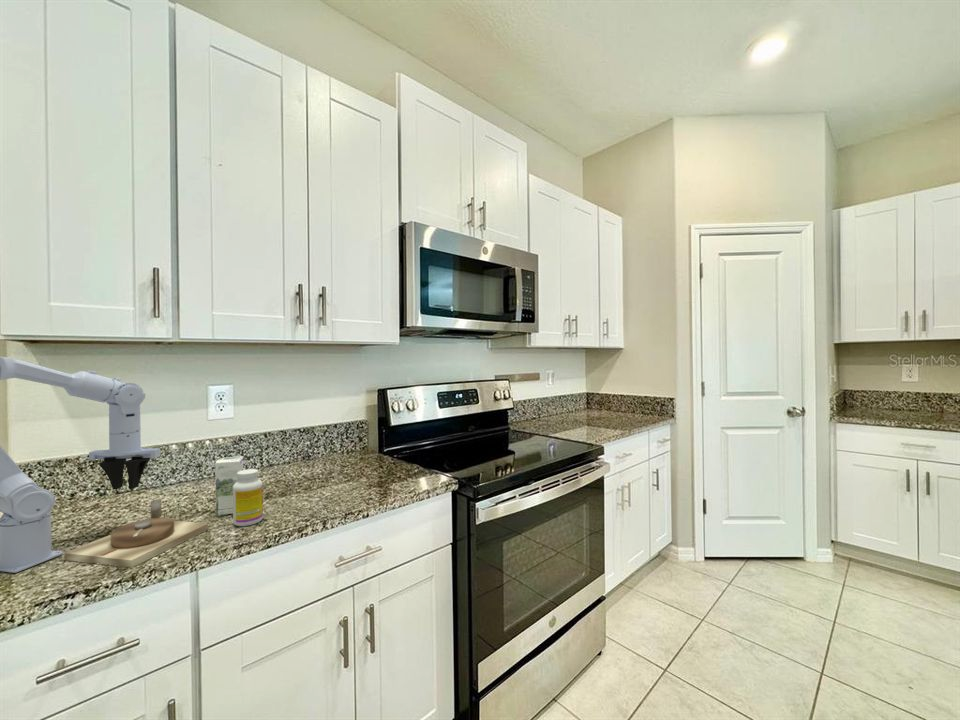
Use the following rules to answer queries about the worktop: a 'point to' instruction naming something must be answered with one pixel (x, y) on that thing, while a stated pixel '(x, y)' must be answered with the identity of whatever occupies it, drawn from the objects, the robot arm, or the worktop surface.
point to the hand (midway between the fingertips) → (125, 488)
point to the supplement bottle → (247, 498)
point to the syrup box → (226, 483)
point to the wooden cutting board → (135, 555)
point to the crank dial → (143, 529)
